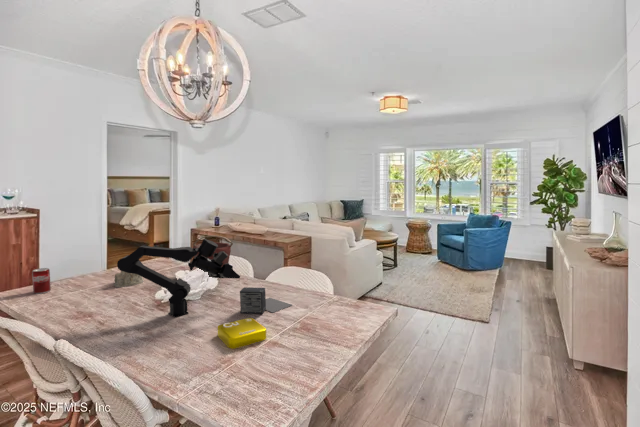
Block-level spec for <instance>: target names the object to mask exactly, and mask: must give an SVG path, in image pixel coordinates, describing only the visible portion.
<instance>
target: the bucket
mask: <svg viewBox="0 0 640 427" xmlns="http://www.w3.org/2000/svg"><path fill="white" fill-rule="evenodd" d="M207 238H219V239H222V240H224V241H225V242H215V241H214V242H215V243H216V244H217V245H218V247H217V248H216V250H215V252H214V253H219V252H221V251H224V252H225V253H226V254H227V255H228V257H227V258H225V260H224V261H223V262H222V263H223V264H226V263H229V264H230V258H231V257H230V256H231V251H232V250H231V248H232V246H233V245H234V243H233V242H232V241H231V239H229V238H227V237H225V236H221V235H217V234H216V235H214V234H213V235H212V234H211V235H205V236H203V237H200V238H198V239H196V240H195V241H194V242H193V244H192V248H199V247H200V245H201V244H202V243H198V242H199V241H201V240H202V239H203V240H204V239H207ZM197 243H198V244H197ZM229 243H230V244H229ZM214 253H213V254H214ZM198 254H199V253H198ZM198 254H197V255H198ZM197 255H196V256H197ZM196 256H194V257H196ZM194 257H193V258H194ZM206 258H207V257H206ZM213 258H214V257H213V255H212V256H211V257H208V259H213ZM221 267H223V265H222V266H221Z"/></svg>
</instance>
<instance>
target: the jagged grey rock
mask: <svg viewBox="0 0 640 427" xmlns="http://www.w3.org/2000/svg"><path fill="white" fill-rule="evenodd" d="M144 279H145V278H144V277H142V276H140V275H138V274H132V273H127V272H124V271H121V270H120V272H117V273H115V275H114V284H113V287H115V288H125V287H133V286H137V285H141V284H143V283H144V281H145V280H144Z"/></svg>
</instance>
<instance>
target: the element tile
mask: <svg viewBox="0 0 640 427" xmlns="http://www.w3.org/2000/svg"><path fill="white" fill-rule="evenodd" d="M217 337H218V338H219V339H220V340H221V342H222V343H223V344H224V345H225V346H226V347H227V348H228V349H230V348H231V350H233V349H234V350H235V349H239V348H242V347H246V346H249V345H253V344H256V342H257V343H260V342H264V341H265V339H266V340H267V328H266V327H265V326H263V324H261V323H260V322H258V321H257V320H256V319H254V318H253V317H247V318H242V319H238V320H234V321H230V322H226V323H221V324H219V325H218V326H217ZM263 340H264V341H263Z"/></svg>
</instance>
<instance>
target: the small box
mask: <svg viewBox="0 0 640 427" xmlns="http://www.w3.org/2000/svg"><path fill="white" fill-rule="evenodd" d="M266 299H267V298H266V287H247V286H246V287H242V288H241V290H240V291H239V300H240V303H239V304H240V314H250V315H251V314H252V315H253V314H255V315H263V314H264V312H265V311H266Z"/></svg>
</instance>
